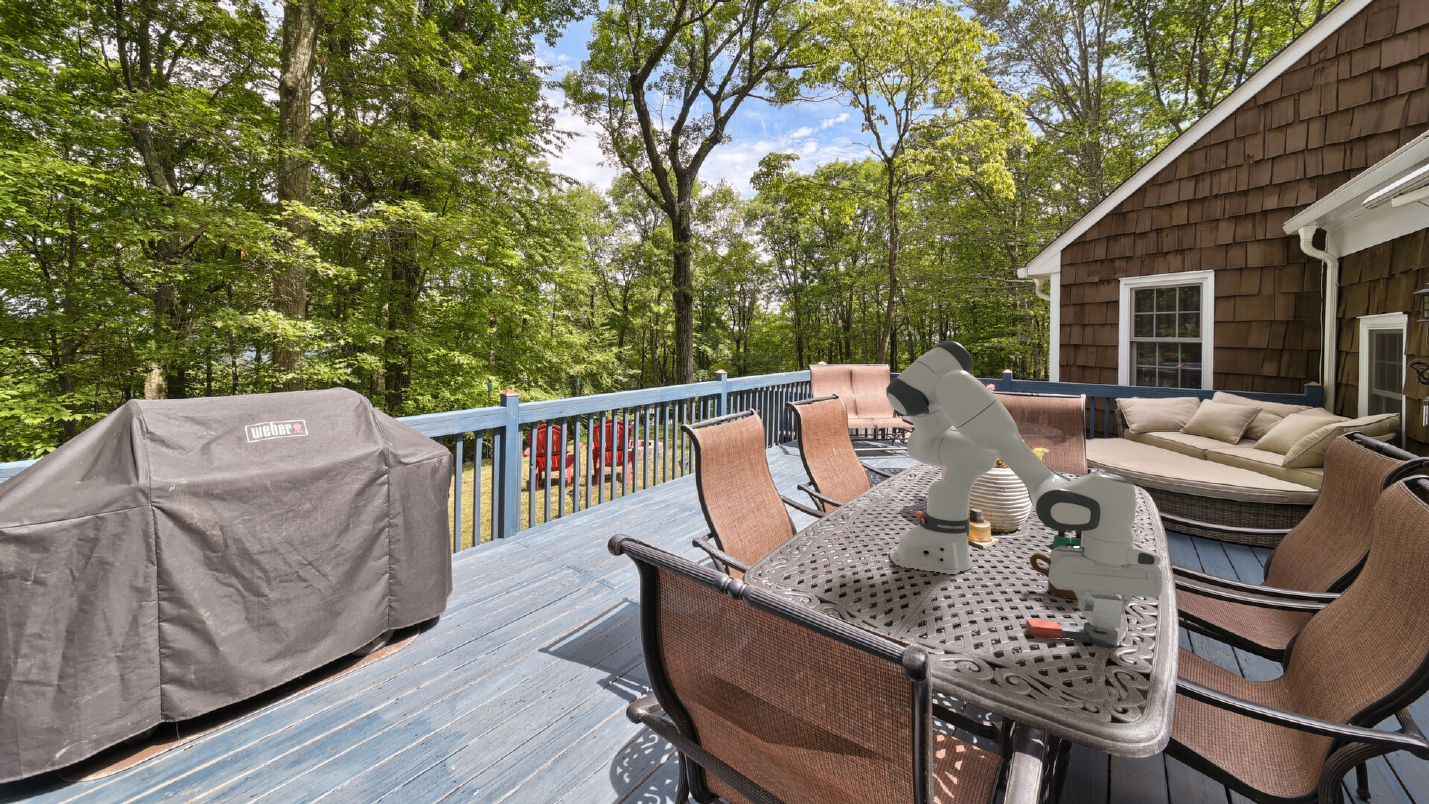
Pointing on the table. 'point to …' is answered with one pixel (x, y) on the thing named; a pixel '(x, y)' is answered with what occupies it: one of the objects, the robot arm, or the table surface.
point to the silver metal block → (1103, 609)
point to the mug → (1046, 572)
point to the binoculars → (1066, 540)
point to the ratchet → (1073, 632)
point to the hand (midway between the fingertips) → (1100, 611)
